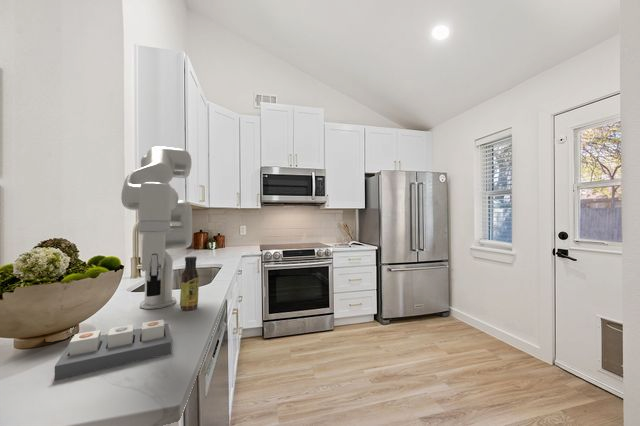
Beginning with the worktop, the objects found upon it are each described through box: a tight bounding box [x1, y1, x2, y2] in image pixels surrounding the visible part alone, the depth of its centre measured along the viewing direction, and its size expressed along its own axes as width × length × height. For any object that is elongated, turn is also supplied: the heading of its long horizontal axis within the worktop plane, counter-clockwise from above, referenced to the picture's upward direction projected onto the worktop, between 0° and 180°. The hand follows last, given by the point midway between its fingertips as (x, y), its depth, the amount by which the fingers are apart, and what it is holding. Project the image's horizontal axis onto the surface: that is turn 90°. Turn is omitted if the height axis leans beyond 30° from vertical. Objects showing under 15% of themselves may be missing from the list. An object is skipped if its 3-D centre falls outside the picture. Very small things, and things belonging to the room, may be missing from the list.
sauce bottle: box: [179, 256, 200, 312], centre depth 104 cm, size 6×6×20 cm
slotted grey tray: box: [53, 323, 172, 381], centre depth 70 cm, size 14×22×3 cm, turn 122°
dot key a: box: [141, 319, 165, 341], centre depth 73 cm, size 5×5×4 cm
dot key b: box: [69, 329, 102, 356], centre depth 66 cm, size 5×5×4 cm
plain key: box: [107, 324, 135, 348], centre depth 70 cm, size 5×5×4 cm
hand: (153, 295), depth 73 cm, fingers closed
